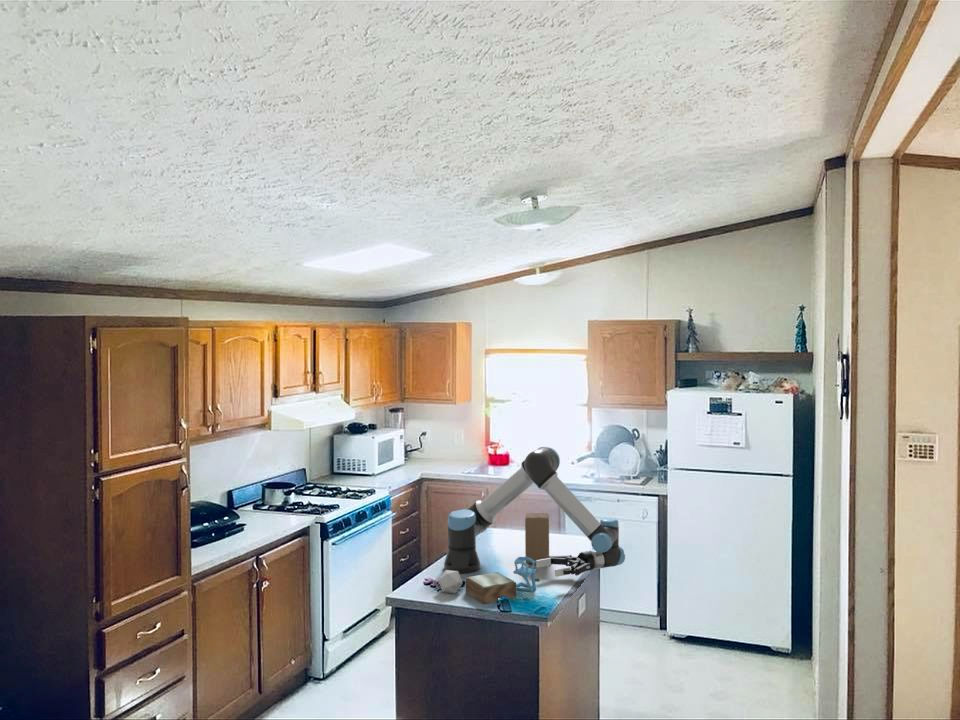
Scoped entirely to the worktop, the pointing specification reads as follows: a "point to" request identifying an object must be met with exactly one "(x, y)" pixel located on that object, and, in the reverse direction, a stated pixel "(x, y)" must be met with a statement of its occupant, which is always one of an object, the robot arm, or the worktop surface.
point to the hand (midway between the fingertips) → (545, 568)
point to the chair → (525, 573)
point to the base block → (490, 587)
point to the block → (536, 536)
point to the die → (450, 581)
